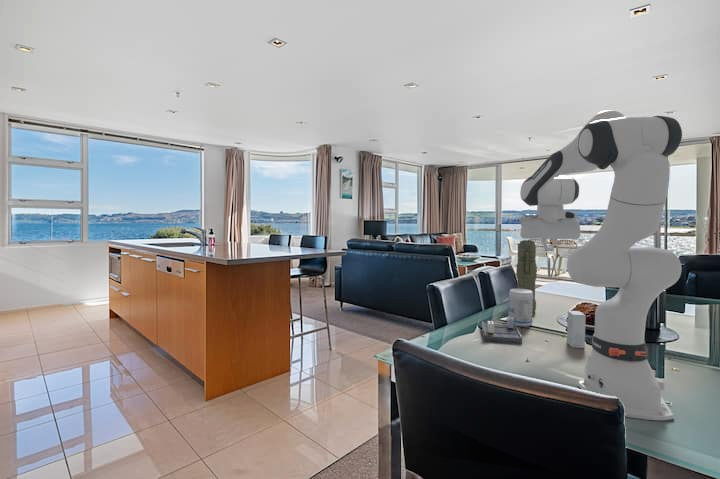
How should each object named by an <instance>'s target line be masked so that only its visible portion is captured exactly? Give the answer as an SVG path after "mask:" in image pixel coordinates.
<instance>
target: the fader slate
mask: <svg viewBox="0 0 720 479" xmlns="http://www.w3.org/2000/svg"><path fill="white" fill-rule="evenodd" d="M506 317H507V319H506V321H507V322H506V324H507V326H508V328H514V319H513V317H508V316H506Z"/></svg>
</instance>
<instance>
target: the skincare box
mask: <svg viewBox="0 0 720 479" xmlns="http://www.w3.org/2000/svg"><path fill="white" fill-rule="evenodd" d="M586 316H587V315H586V314H584V313H582V312H581V311H580V310H567V322H566V323H567V326H566V329H567V330H566V343H567V344H568V345H569V346H570V347H571V348H574V349H575V348H578V349H579V348H580V349H585V347H586V345H585V344H586V343H585V342H586V321H587V320H586Z"/></svg>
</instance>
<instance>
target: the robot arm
mask: <svg viewBox="0 0 720 479" xmlns="http://www.w3.org/2000/svg"><path fill="white" fill-rule="evenodd" d="M682 130H683V129H682V127H681V124H680V123H679V121H678V120H677V119H676V118H674V117H670V116H665V115H654V116H625V115H624V114H623V113H621V112H619V111H617V110H612V109H611V110H607V109H606V110H603V111H600V112H598V113H597V114H595V115H594V116H593V117H592V118H590V120H589V121H588V122H587V123H585V125H583V127H582V128H581V130H580V131H579V132H578V134H577V135H576V137H575V138H574V139H573V140H572V141H570V142H568V144H567V145H565V146H564V147H562V148H561V149H559V150H556V152H553V153H552V154H550V156H548V157H547V159H546V160H545V161H544V162H543V163H542V164H540V166H539V167H538V169H537V170H536V171H535V172H534V173H533V174H532V175H530V176H529V177H528V178H526V179H525V180H524V181H523V183H522V184H521V186H520V199H521V200H522V201H523V202H524V203H525V204H526V205H527V206H529V207H531V206H532V207H533V206H536V214H535V213H532V214H531V213H530V214H526V213H525V214H524V215H522V216H521V217H520V218H519V219H520V220H519V221H520V222H519V224H520V225H521V226H520V235H519V236H520V237H521V238H522V239H523V240H524V239H525V240H531V239H532V240H533V239H535V240H536V239H538V240H539V239H540V240H541V241H540V242H541V243H542V245H543V246H544V247H543V249H544V252H554V250H555V246H556V245H557V243H558V240H579V239H580V237H581V226H580V222H579V221H578V215H579V214H578V213H576V212H573V211H570V210H567V209H564V205H570V204H573V203H574V202H575V201H576V200H577V199H578V198H579V195H580V184H579V183H578V181H577V180H576V179H574V177H569V176H567V175H570V174H579V173H587V172H592V171H595V170H598V169H599V170H602V171H603V170H605V169H607V168H609V166H610V167H611V168H612V171H613V172H614V179H613V183H612V186H611V192H610V196H609V200H608V205H607V210H606V214H605V217H604V220H603V222H602V225H601V226H600V228H599V229H598V231H597V232H596V233H595V234H594V236H592V237H591V239H589V240H588V241H587V242H585V243H584V244H583V245H580V246H579V247H577V248H575V249H573V250H572V252H570V254H569V256H568V258H567V260H566V269H567V270H566V271H567V272H568V275H569V277H570V278H571V279H572V281H573V282H575V283H576V284H578V285H580V284H581V285H584V286H591V287H594V288H595V287H596V288H619V289H618V291H617V293H616V294H615V295H614V296H612V298H610V299H606V300H604V301H602V302H601V303H600V304H598V305H597V307H596V308H595V312H594V333H593V334H592V336H591V337H592V339H591V348H592V350H591V351H590V352H589V353H588V355H587V356H585V363H584V372H583V373H584V374H583V379H581V380H579V381H577V387H579V388H580V389H581V390H582V389H584V390H588V391H592V392H596V393H600V394H605V395H610V396H616V397H618V398H620V400H621V401H622V402H623V404H624V406H625V413H626V415H625V416H624V417H628V418H632V419H633V418H634V419H639V420H640V419H642V420H650V421H670V420H673V419H674V413H673V412H672V411H671V409H670V407H669V405H668V404H667V403H666V401H665V399H664V398H663V397H662V391H664V390H665V382H664V381H663V380H659V379H657V378H656V375H657V373H656V370H654V369H652V367H651V365H650V363H649V361H648V358H649V355H648V347H647V343H646V341H645V336H646V335H645V332H646V323H647V318H648V317H647V316H648V313H649V310H650V308H651V306H652V304H653V303H654V301H655V300H656V299H657V297H658V296H659V295H661V293H663V292H664V291H665V290H667V289H669V288H670V287H672V286H673V285H675V284H676V283H677V282H678V281H679V279H680V278H681V274H682V263H681V261H680V259H679V257H678V256H677V255H676V253H675V252H674V251H672V250H670V249H665V248H660V247H655V246H640V245H639V246H636V245H635V244H637V243H638V242H640V241H643V240H645V239H646V238H649V237H651V236H652V235H654V234H655V233H656V232H657V231H658V229H659V227H660V224H661V220H662V216H663V212H664V208H665V205H666V199H667V196H668V194H669V193H668V192H669V191H668V190H669V185H670V175H671V174H670V167H671V166H670V161H669V159H668V157H669V156H672V155H673V154H674V153H675V152H676V151H677V149H678V148H679V146H680V145H681V142H682V138H683V131H682ZM548 239H549V240H550V239H551V241H552V244H551V245H547V241H548ZM634 245H635V246H634Z"/></svg>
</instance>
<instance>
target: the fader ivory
mask: <svg viewBox="0 0 720 479" xmlns="http://www.w3.org/2000/svg"><path fill="white" fill-rule="evenodd" d="M487 323H488V329H487V330H488V333H494V321H493V320H487Z"/></svg>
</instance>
